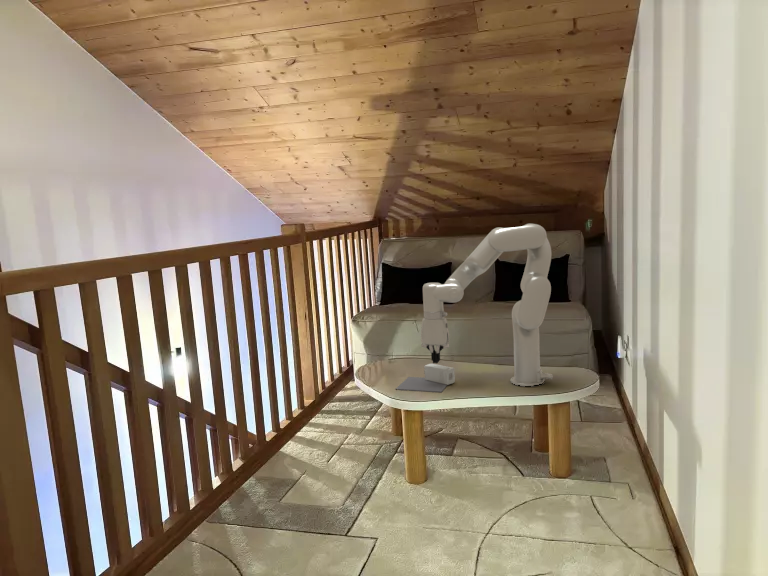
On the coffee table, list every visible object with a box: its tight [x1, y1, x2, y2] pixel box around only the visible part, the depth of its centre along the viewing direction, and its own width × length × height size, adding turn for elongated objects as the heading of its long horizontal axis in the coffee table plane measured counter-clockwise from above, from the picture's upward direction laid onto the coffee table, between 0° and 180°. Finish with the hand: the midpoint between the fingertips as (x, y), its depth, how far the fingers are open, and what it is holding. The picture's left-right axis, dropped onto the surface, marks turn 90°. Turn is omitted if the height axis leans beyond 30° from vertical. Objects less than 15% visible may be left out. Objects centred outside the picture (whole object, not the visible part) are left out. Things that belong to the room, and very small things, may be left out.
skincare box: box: [423, 362, 456, 386], centre depth 226 cm, size 6×4×12 cm
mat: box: [395, 376, 448, 393], centre depth 225 cm, size 18×16×1 cm
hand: (436, 362), depth 222 cm, fingers closed
